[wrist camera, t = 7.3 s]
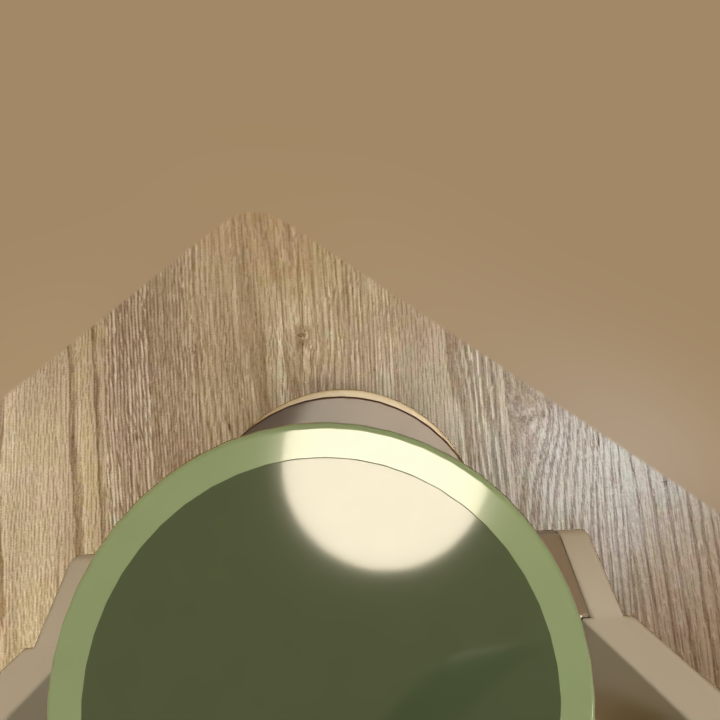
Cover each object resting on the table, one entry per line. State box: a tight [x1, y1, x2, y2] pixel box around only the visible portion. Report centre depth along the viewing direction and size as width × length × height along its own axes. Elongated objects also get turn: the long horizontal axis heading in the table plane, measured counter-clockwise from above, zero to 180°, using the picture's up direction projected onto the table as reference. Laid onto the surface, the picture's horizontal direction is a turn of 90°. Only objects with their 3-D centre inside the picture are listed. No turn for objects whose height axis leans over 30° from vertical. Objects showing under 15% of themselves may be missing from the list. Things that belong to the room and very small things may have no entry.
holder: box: [240, 389, 463, 463], centre depth 24 cm, size 11×11×19 cm
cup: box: [47, 422, 595, 720], centre depth 11 cm, size 6×6×9 cm
